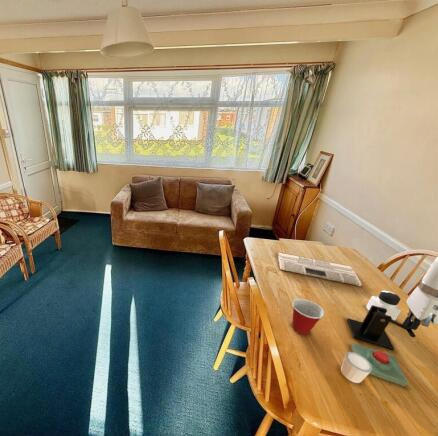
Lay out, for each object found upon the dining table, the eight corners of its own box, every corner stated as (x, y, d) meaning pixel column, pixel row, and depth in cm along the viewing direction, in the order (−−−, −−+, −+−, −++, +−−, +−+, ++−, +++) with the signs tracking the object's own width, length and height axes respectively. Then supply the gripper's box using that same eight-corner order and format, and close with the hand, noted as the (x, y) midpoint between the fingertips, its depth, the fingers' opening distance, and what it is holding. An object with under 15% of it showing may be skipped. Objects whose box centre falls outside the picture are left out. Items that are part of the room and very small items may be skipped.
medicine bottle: (394, 323, 98) (407, 302, 93) (373, 318, 100) (385, 298, 95) (384, 310, 104) (396, 290, 99) (365, 307, 106) (376, 287, 101)
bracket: (382, 330, 95) (396, 307, 90) (392, 350, 87) (409, 327, 81) (346, 319, 100) (357, 297, 94) (353, 338, 92) (366, 315, 86)
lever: (404, 326, 89) (409, 322, 88) (412, 338, 84) (418, 335, 83) (370, 309, 92) (375, 305, 91) (376, 320, 87) (381, 316, 86)
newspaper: (280, 270, 131) (281, 266, 130) (277, 253, 147) (278, 249, 146) (360, 287, 118) (362, 283, 117) (346, 266, 134) (348, 262, 133)
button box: (391, 360, 84) (396, 352, 82) (404, 386, 75) (410, 379, 74) (350, 346, 88) (354, 339, 87) (359, 370, 80) (363, 363, 78)
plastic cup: (300, 315, 102) (308, 295, 97) (321, 336, 92) (331, 315, 87) (279, 320, 100) (286, 299, 95) (299, 342, 90) (308, 320, 85)
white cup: (367, 388, 75) (376, 375, 72) (342, 380, 77) (350, 367, 74) (358, 368, 81) (366, 355, 78) (335, 361, 83) (342, 349, 80)
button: (384, 356, 81) (386, 353, 80) (388, 365, 78) (391, 362, 77) (371, 352, 82) (373, 348, 82) (375, 360, 80) (377, 357, 79)
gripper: (466, 308, 71) (434, 348, 78) (437, 280, 83) (412, 316, 90) (432, 300, 73) (405, 339, 81) (409, 274, 86) (387, 309, 93)
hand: (408, 327), depth 86 cm, fingers closed
